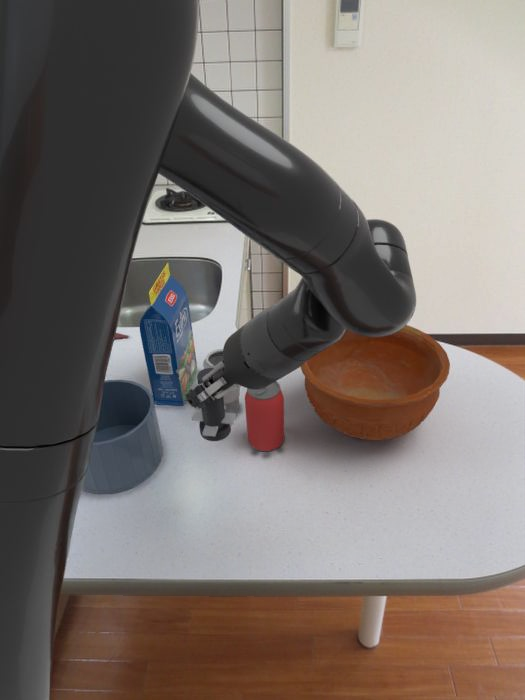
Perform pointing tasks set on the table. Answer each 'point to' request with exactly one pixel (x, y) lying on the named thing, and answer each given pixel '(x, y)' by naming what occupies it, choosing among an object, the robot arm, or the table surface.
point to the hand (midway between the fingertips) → (200, 393)
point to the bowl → (377, 382)
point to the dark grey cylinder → (213, 416)
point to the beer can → (265, 417)
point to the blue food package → (168, 341)
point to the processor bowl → (124, 439)
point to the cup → (231, 397)
